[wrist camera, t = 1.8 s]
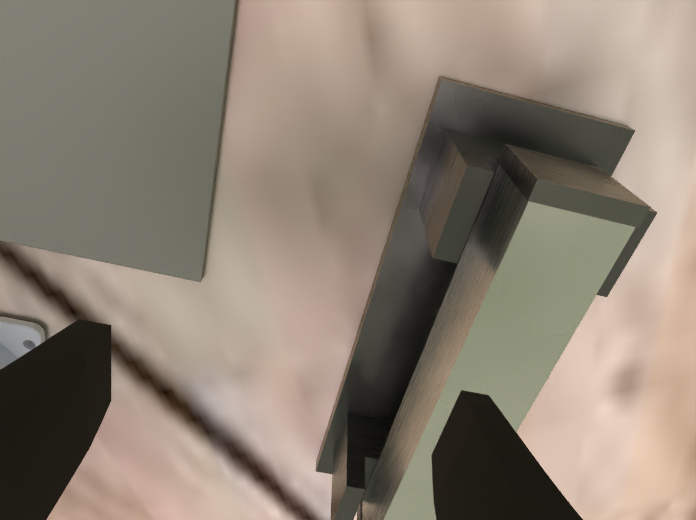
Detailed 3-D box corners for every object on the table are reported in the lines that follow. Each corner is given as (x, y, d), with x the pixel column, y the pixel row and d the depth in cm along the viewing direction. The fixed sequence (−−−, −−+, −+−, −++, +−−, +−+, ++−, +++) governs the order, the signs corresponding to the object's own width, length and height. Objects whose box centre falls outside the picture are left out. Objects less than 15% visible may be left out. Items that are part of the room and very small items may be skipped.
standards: (442, 483, 27) (457, 570, 23) (316, 461, 27) (309, 547, 23) (627, 125, 18) (705, 168, 14) (439, 76, 17) (465, 106, 13)
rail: (419, 518, 24) (428, 586, 21) (356, 508, 24) (357, 576, 21) (599, 167, 16) (650, 207, 13) (504, 143, 15) (537, 179, 12)
